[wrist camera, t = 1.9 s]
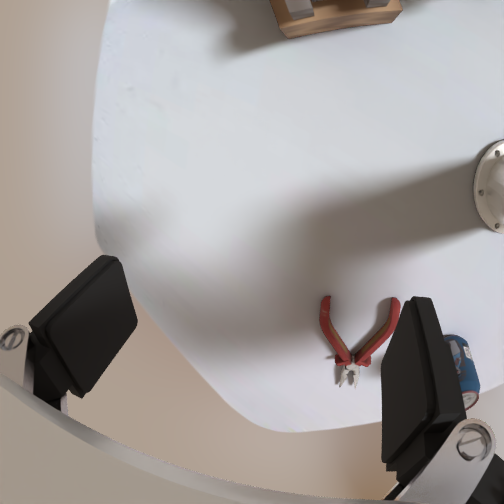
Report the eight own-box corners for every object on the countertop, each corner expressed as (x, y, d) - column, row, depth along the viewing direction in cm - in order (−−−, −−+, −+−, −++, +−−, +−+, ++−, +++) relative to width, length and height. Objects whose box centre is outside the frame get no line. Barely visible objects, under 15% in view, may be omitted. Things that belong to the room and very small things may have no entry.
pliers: (316, 380, 53) (314, 391, 51) (320, 292, 43) (319, 304, 41) (378, 382, 50) (378, 394, 48) (401, 294, 40) (404, 306, 38)
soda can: (445, 364, 44) (455, 419, 34) (422, 351, 43) (431, 410, 33) (473, 341, 40) (490, 396, 30) (451, 326, 40) (468, 384, 30)
